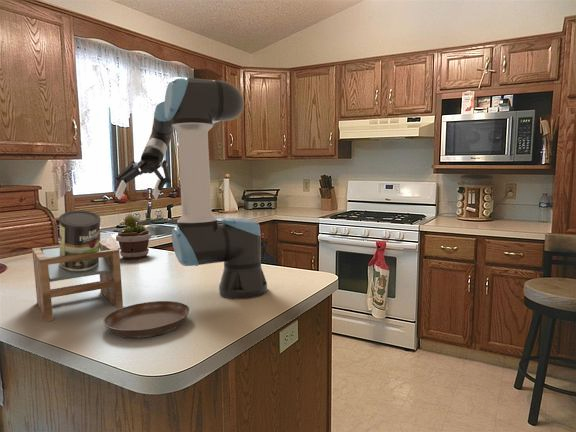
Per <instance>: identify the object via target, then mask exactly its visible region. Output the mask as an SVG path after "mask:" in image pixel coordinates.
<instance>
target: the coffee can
mask: <svg viewBox="0 0 576 432" xmlns="http://www.w3.org/2000/svg"><path fill="white" fill-rule="evenodd" d="M58 222H59V245H60V256H65V255H73V254H82V253H89V252H97V251H99V234H100V235H101V229H100V228H101V217H100V216H99V215H98V214H97V213H94V212H92V211H87V210H72V211H71V210H70V211H67V212H64V213H62V214H61V215H60V216H59V217H58ZM98 263H99V258H94V259H87V260H79V261H72V262H64V263H60V266H61V267H62V268H64V269H66V270H70V271H86V270H90V269H92V268H94V267H96V266H97V265H98Z"/></svg>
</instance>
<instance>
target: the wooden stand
mask: <svg viewBox="0 0 576 432" xmlns="http://www.w3.org/2000/svg"><path fill="white" fill-rule="evenodd" d="M52 248H60V244H59V245H51V246H43V247H34V248H33V247H32V248H31V250H32V251H31V253H32V260H33V261H32V262H33V270H34V271H33V272H34V281H35V283H34V284H35V291H36V303H37V305H38V307H39V310H40V313H41V315H42V317H43V319H44V322H51V321H53V320H54V316H53V315H54V314H53V304H52V298H57V297H64V296H69V295H76V294H81V293H86V292H87V293H88V292H91V291H97V290H98V291H99V290H100V292H101V293H102V294H103V296H105V297H106V298H107V299H108V300H109V301H110V302H111V304H113V305H114V306H115V308H120V307H124V302H123V301H124V300H123V286H122V272H121V271H122V269H121V257H120V256H121V254H120V248H119V249H117V248H115V247H113V246H112V245H110V244H108V243H107V242H106V241H105V240H100V241H99V248H100V250H101V251H97V252H89V253H82V254H73V255H65V256H58V257H50V258H47V257H46V256H45V255H44V253H43V252H42V250H43V249H52ZM102 257H104V259H105V262H106V264H107V266H108V268H109V273H104V274H99V281H94V282H87V283H81V284H75V285H70V286H68V285H67V286H63V287H57V288H56V287H55V288H52V289H51V282H50V279H49V269H48V265H49V264H57V263H64V262H72V261H79V260H87V259H94V258H102Z"/></svg>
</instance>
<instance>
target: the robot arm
mask: <svg viewBox="0 0 576 432" xmlns="http://www.w3.org/2000/svg"><path fill="white" fill-rule="evenodd" d="M244 107H245V100H244V97H243V94H242V93H241V91H240V90H239V89H238V88H237V87H236V86H234V84H232V83H229V82H227V81H225V80H216V79H215V80H214V79H206V78H205V79H204V78H203V79H202V78H197V77H196V78H194V77H188V76H187V77H173V78H171V79H170V80H169V82H168V84H167V87H166V91H165V95H164V100H161V101H159V102H158V103H157V104H156V106H155V110H154V113H153V122H152V127H151V132H150V133H151V134H150V135H149V138H148V140H147V142H146V145H145V147H144V149H143V151H142V154H141V157H140V161H138V162H135V160H131V162H130V163H129V164H128V165H127V166H126V167H125V168H124V169H123V170H122V171H121V172H120V173H119V174H118V175H117V176H116V177H115V180H116V182H117V186H116V191H115V193H114V194H115V197H116V198H117V199H118V200H121V199H122V197H123V194H124V192H125V191H126V188H127V184H128V183H129V182H130V181H132V180H133V179H135V178H136V177H138V176H141V175H143V174H153V173H154V174H155V175H156V177H157V178H158V179H157V181H156V183H155V185H154V187H153V191H152V192H151V193H152V196H153V198H154V199H155V200H158V198H159V196H160V193H161V191H163V190H164V188H165V185H166V184H171V182H172V179H171V176H170V173H169V164H168V162H167V159H165V155H166V153H167V150H168V147H169V145H170V143H171V140H172V138H173V135H174V132H175V131H176V132H177V145H178V165H179V168H178V169H179V181H180V186H179V187H180V201H181V203H180V204H181V216H180V217H179V218H178V219H177V221H176V223H177V226H174V227H173V228H172V229H171V242H172V247H173V251H174V253H175V257H176V259H177V261H178V263H179V264H180V265H181V266H183V267H192V266H193V267H194V266H195V267H198V266H201V265H208V264H209V265H210V264H217V263H223V271H222V274H221V278H220V283H219V286H218V290H219V295H220V296H221V297H222V296H223V297H225V298H229V299H238V300H239V299H253V298H256V297H259V296H263V295H265V294H266V293H267V292H268V282H267V279H266V277H265V274H264V271H263V268H262V245H261V243H262V242H261V241H262V239H261V237H262V234H261V226H260V224H259V222H257V221H256V220H251V219H245V218H233V217H231V218H230V217H227V218H223V219H222V220H221V223H218V218H217V217H216V216H215V215H214V214H213V212H212V195H211V194H212V191H211V190H212V189H211V173H210V172H211V171H210V151H209V134H208V133H209V131H210V130H211V129H213V128H214V125H215V124H217V123H219V122H229V121H230V122H231V121H234V120H235V119H238V117H240V116H241V114H242V113H243V110H244ZM160 167H161V168H162V170H163V173H164V176H163V175H162V174H161V173H160V171H159V168H160Z"/></svg>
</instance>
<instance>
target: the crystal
mask: <svg viewBox="0 0 576 432" xmlns="http://www.w3.org/2000/svg"><path fill="white" fill-rule="evenodd" d="M122 231H124V229H123V230H122ZM116 235H118V232H117V233H114V234H112V235H110V236H109V237H108V238H107V240H106V241H105V242H107V243H108V244H110V245H112V246H113V247H115V248H117V249H119V250H120V249H121V248H120V245H119V242H118V241H116Z"/></svg>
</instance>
